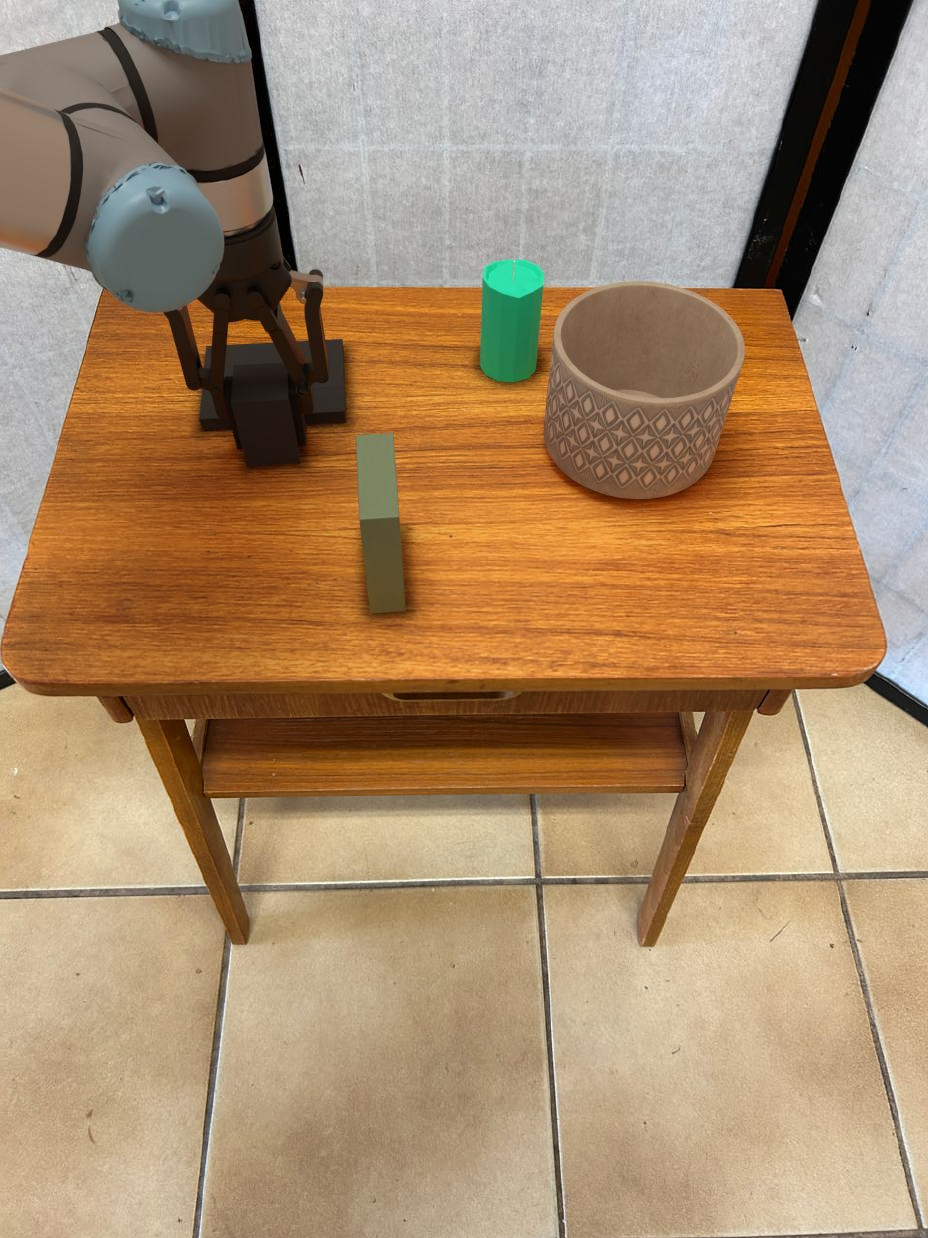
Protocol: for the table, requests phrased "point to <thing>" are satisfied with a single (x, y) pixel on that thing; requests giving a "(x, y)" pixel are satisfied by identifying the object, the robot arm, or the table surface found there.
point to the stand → (380, 522)
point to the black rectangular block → (264, 414)
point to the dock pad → (325, 394)
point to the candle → (510, 319)
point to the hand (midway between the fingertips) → (272, 437)
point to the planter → (640, 387)
